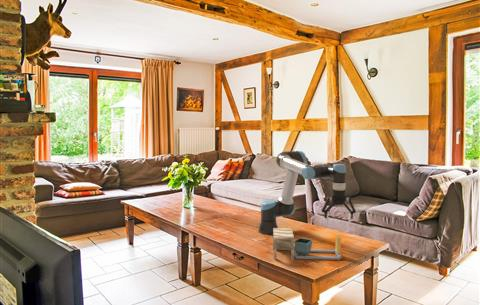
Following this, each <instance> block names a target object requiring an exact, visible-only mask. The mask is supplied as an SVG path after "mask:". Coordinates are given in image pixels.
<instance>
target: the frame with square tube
mask: <svg viewBox="0 0 480 305" xmlns="http://www.w3.org/2000/svg"><path fill="white" fill-rule="evenodd" d="M341 241H342V239H341V236H340V235H338V234H336V235H335V248H334V249H312V248H311V250H310V252H309V253H329V254H331V253H334V254H335V255H336V256H324V255H323V256H320V255H318V256H317V255H307V256H301V255H298V254H297V252H296V250H295V245H294V260H296V259H298V260H299V259H303V260H335V261H337V260H338V261H341V260H342V255H341V247H342V246H341V244H342V242H341Z"/></svg>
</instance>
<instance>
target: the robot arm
mask: <svg viewBox="0 0 480 305" xmlns="http://www.w3.org/2000/svg"><path fill="white" fill-rule="evenodd" d="M275 161H276V162H275V163H276V164H277V166H278V167H280V168H281V169H285V170H286V173H285V178H284V183H283V187H282V191H281V195H280V196H279V197H278V199H277V200H275V199H268V200H267V199H266V200H263V201H262V202H261V203H260V223H259V226H258V233H260V234H265V235H273V228H279V225H278V222H277V218H280V217H281V218H282V217H289V216H292V215H293V214H294V213H295V211H296V204H295V202H294V199H293V198H294V193H295V188H296V185H297V181H298V176H299V175H302V176H301V177H303V179H304V180H314V179H332V197H330V196H327V198H326V201H325V203H324V204H323V206H322V209H321V212H322V213H324V217H323V218H324V219H325V223H326V225H329V211H330V210H331V209H332V208H333V207H334V206H335V205H336V206H342V205H343V206H344V207H345V208H346V210H347V211H348V212H349V213H348V224H349V225H351V224H352V220H353V218H354V214H356V213H357V211H356V209H355V207H354V205H353V203H352V198H351V197H350V196H348V197H346V189H347V188H346V185H347V184H346V182H347V181H346V180H347V166H346V164H344V163H333V165H329V164H327V165H326V164H323V165H319V166H318V165H316V166H312V165H309V164H307V161H308V160H307V157H306V154H305V153H304V152H303V151H300V150H296V151H295V150H294V151H292V150H291V151H290V150H289V151H282V152H280V153H278V155H277V156H276V159H275ZM331 200H332V202H331ZM345 201H347V202H348V204H349V206H348V205H347V204H346V203H345ZM330 202H331V204H329V203H330Z"/></svg>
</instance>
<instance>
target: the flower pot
mask: <svg viewBox="0 0 480 305" xmlns="http://www.w3.org/2000/svg"><path fill="white" fill-rule="evenodd" d="M312 244H313V239H308V238H303V237H299V238H296V240H294V246H295V250H296V254H297V256H309V254H310V253H311V252H310V250H311V249H312V246H313V245H312Z"/></svg>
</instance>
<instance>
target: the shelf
mask: <svg viewBox="0 0 480 305" xmlns="http://www.w3.org/2000/svg"><path fill="white" fill-rule="evenodd" d="M272 240H273V241H272V249H273V260H275V261H276V260H277V256H278V255H277V251H290V260H291V261H295V258H294V246H295V244H294V241H295V237H294V232H293V228H282V227H280V228H279V227H278V228H273V234H272Z"/></svg>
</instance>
